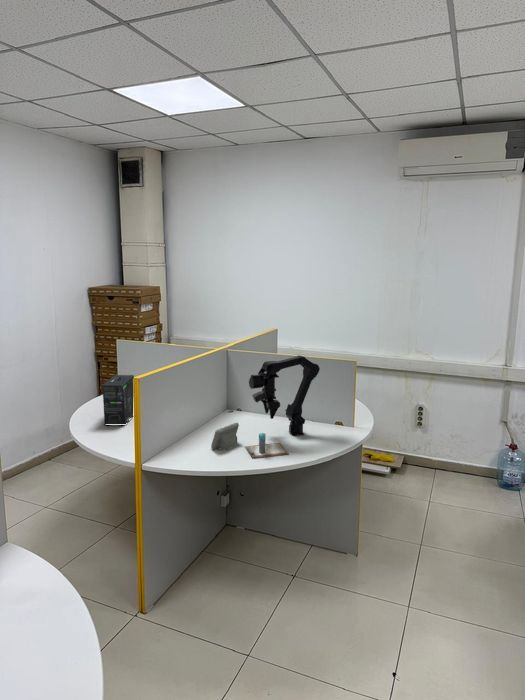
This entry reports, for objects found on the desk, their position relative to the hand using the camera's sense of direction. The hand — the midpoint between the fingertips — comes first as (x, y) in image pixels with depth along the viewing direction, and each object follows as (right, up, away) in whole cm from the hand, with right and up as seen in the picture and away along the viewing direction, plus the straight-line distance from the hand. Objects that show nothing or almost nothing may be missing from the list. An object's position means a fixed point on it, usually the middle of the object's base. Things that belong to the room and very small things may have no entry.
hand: (269, 415), depth 247 cm
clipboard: (-1, -15, -15) cm, 21 cm away
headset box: (-85, -7, +31) cm, 91 cm away
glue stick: (-4, -15, -18) cm, 24 cm away
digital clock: (-22, -14, -8) cm, 27 cm away
